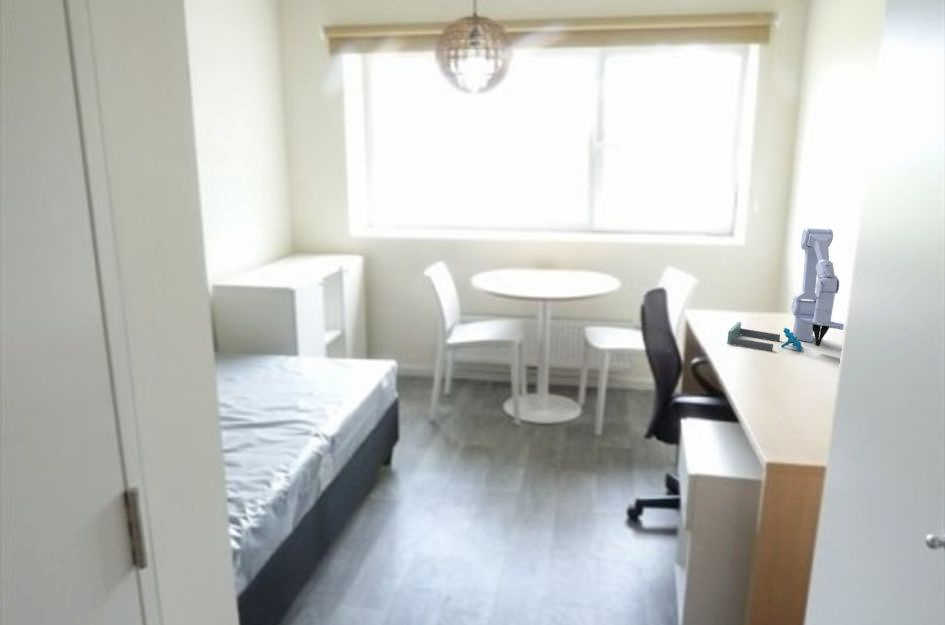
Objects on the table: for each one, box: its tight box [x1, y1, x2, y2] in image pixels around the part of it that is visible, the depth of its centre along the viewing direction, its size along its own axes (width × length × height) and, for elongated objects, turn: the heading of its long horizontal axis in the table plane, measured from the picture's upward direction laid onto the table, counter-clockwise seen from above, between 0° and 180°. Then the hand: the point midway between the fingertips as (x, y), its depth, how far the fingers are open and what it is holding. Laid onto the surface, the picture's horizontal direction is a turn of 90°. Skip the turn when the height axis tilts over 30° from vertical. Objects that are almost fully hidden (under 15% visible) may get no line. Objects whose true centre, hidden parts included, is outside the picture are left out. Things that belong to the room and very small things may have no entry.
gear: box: [780, 327, 804, 352], centre depth 263 cm, size 11×6×10 cm
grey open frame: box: [726, 321, 781, 352], centre depth 269 cm, size 18×16×5 cm
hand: (817, 345), depth 258 cm, fingers closed
